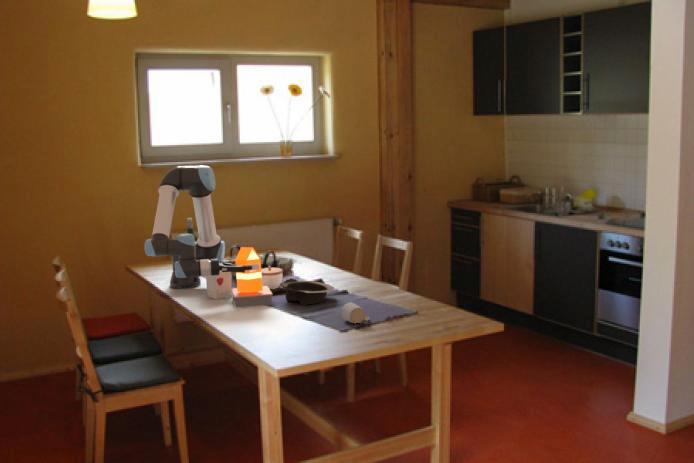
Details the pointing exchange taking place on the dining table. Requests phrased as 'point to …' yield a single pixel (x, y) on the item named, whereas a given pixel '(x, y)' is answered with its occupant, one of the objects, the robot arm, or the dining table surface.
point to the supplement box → (219, 285)
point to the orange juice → (249, 279)
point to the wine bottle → (191, 228)
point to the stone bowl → (305, 291)
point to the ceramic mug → (353, 313)
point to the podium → (252, 297)
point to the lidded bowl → (271, 277)
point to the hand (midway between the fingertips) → (257, 263)
